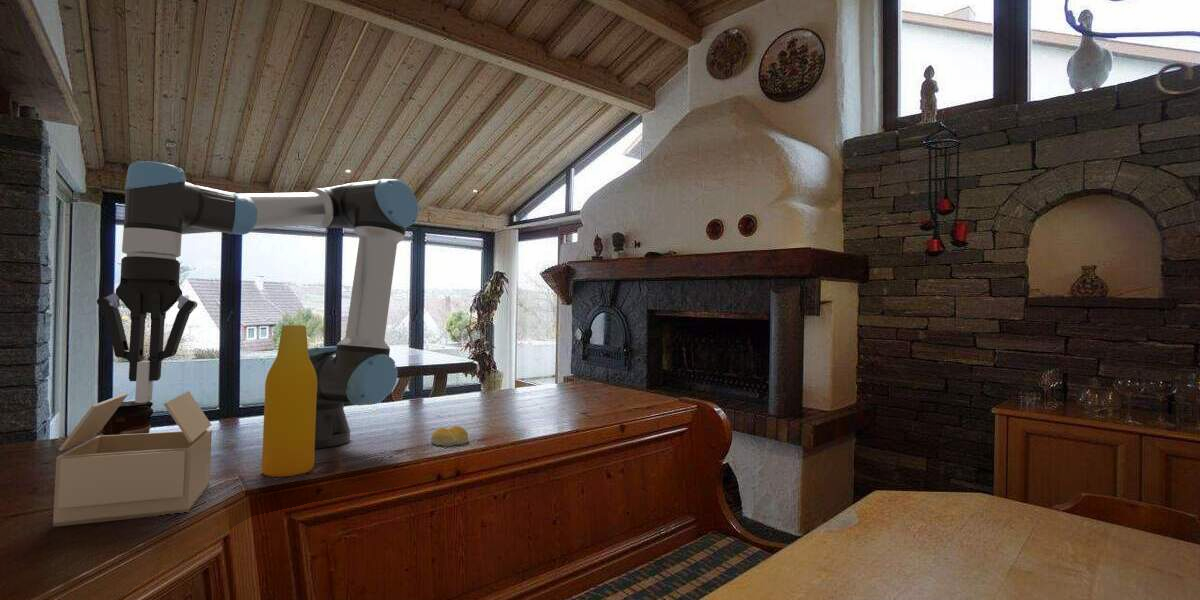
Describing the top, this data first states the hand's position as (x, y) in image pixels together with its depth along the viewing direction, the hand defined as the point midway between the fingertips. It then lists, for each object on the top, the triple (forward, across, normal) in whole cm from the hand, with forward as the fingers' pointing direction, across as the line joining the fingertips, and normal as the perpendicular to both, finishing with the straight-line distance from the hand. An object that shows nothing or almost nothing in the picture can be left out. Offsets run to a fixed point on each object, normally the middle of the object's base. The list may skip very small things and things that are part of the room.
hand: (143, 401), depth 90 cm
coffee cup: (+17, +9, -25) cm, 32 cm away
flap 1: (+3, +6, 0) cm, 6 cm away
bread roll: (+17, -55, -28) cm, 64 cm away
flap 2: (+3, -6, 0) cm, 7 cm away
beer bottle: (+17, -20, -13) cm, 29 cm away
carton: (+17, 0, 0) cm, 17 cm away
